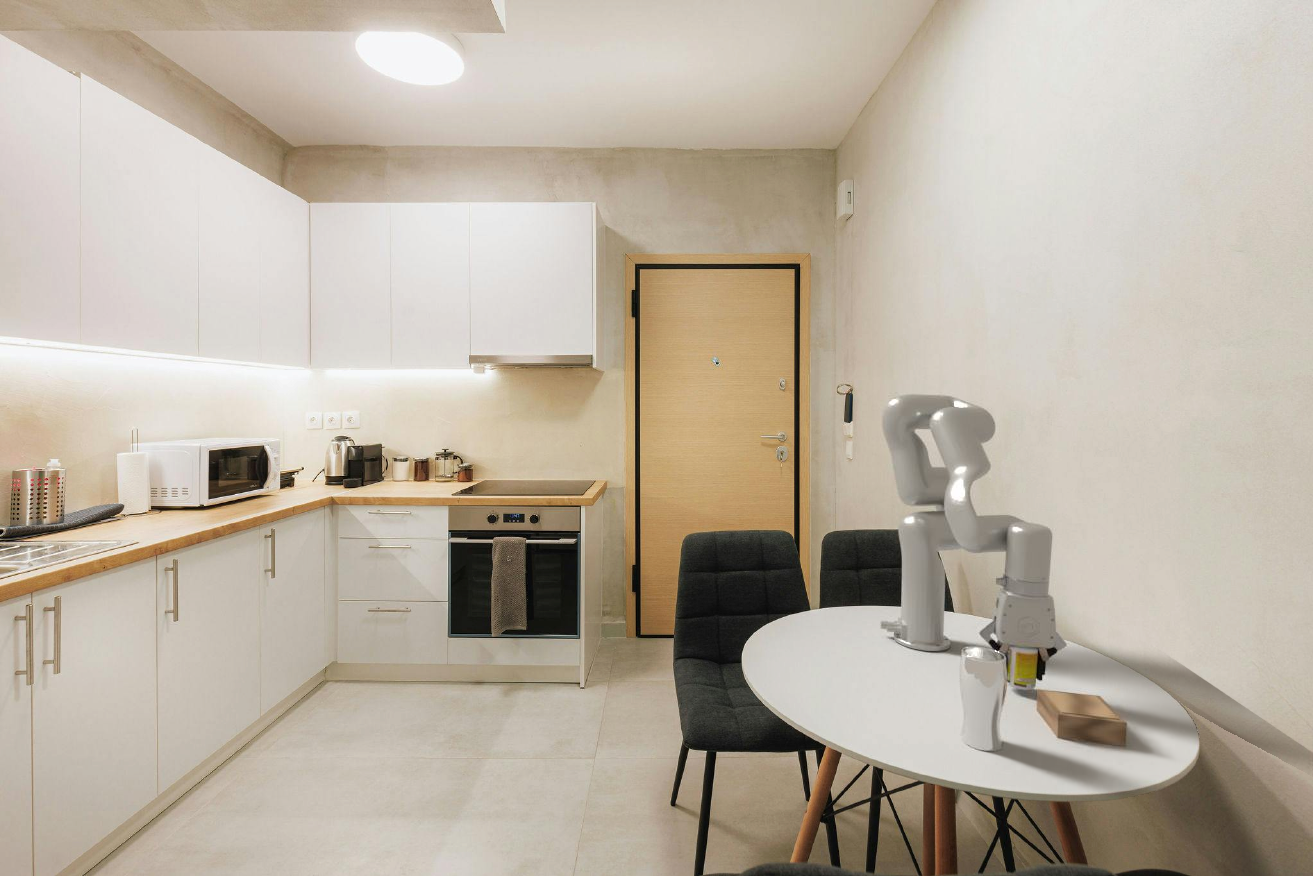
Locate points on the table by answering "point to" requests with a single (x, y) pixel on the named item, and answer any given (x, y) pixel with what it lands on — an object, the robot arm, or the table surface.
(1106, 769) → the table surface
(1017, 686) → the supplement bottle
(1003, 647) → the robot arm
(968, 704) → the beer glass
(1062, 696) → the base
